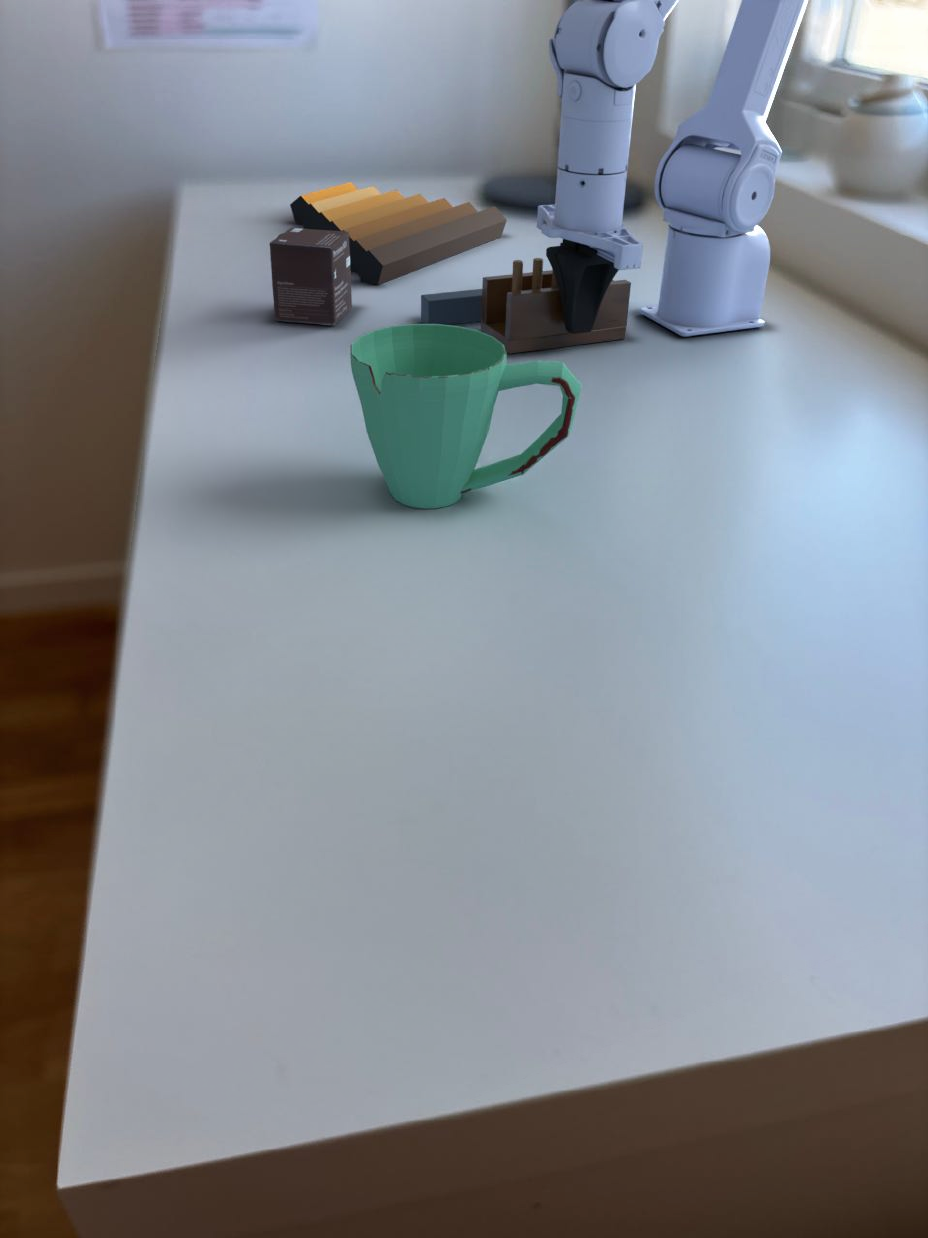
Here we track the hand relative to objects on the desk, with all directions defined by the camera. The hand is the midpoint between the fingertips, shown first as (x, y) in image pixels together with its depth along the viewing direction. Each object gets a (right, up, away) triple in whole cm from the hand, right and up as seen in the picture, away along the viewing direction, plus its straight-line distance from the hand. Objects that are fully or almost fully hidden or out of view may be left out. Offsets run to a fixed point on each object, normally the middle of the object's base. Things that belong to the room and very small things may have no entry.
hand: (578, 330), depth 97 cm
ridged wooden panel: (-22, +18, +31) cm, 42 cm away
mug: (-10, -17, -23) cm, 31 cm away
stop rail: (-5, +4, +10) cm, 12 cm away
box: (-25, +3, +8) cm, 26 cm away
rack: (-2, +1, +4) cm, 5 cm away
